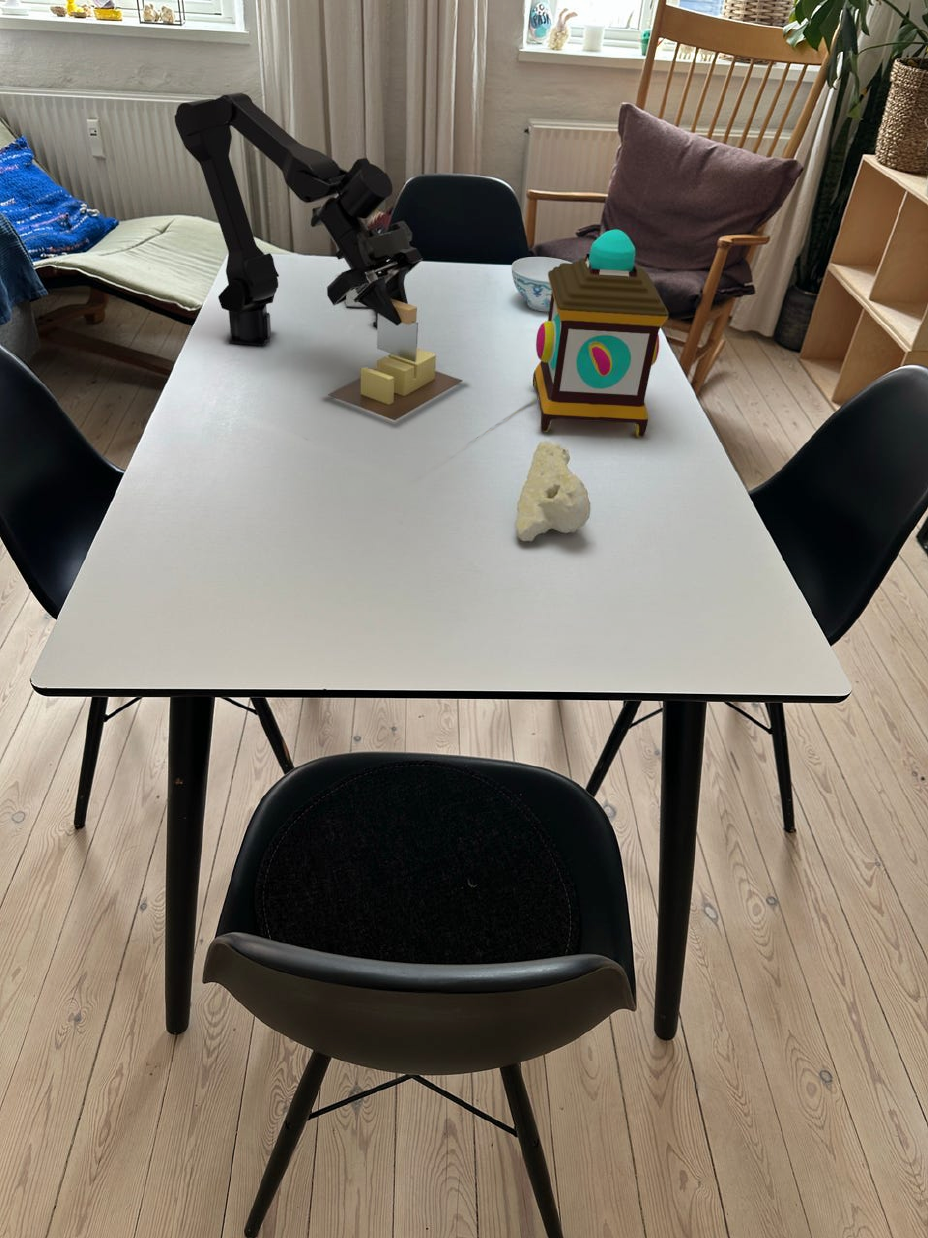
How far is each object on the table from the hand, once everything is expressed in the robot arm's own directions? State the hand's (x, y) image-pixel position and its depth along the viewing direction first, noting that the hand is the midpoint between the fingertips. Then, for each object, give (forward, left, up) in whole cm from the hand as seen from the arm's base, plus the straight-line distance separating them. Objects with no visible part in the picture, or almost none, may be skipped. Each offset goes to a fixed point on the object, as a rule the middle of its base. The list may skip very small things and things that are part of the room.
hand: (404, 321), depth 149 cm
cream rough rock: (+24, -34, -13) cm, 43 cm away
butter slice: (-4, -4, -12) cm, 13 cm away
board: (-1, +1, -13) cm, 13 cm away
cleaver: (-12, +42, -13) cm, 46 cm away
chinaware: (+25, +49, -13) cm, 56 cm away
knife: (-1, +1, -6) cm, 6 cm away
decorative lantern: (+32, 0, -13) cm, 34 cm away
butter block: (0, +3, -12) cm, 12 cm away
